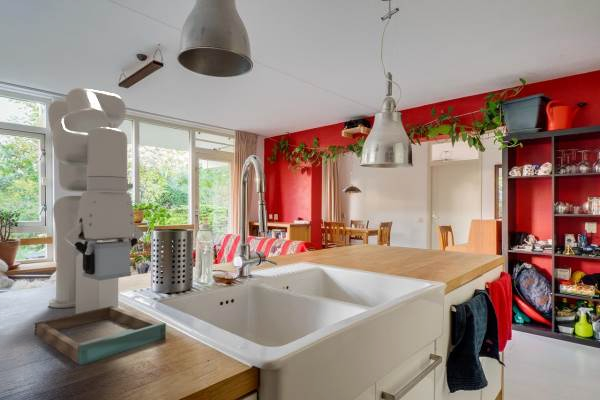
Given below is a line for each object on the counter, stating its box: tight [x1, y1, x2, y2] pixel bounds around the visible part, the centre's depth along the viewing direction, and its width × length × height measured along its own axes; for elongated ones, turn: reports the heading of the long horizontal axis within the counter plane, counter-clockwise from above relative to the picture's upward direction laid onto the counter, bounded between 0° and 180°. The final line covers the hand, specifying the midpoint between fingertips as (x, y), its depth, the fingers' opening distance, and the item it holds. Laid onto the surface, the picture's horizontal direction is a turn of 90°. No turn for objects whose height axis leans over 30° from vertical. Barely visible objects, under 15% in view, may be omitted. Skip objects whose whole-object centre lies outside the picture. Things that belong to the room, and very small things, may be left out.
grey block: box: [83, 240, 132, 281], centre depth 73 cm, size 8×6×7 cm
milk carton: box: [75, 240, 119, 314], centre depth 93 cm, size 7×7×19 cm
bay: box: [34, 306, 167, 366], centre depth 75 cm, size 25×16×3 cm, turn 53°
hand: (106, 270), depth 73 cm, fingers closed on grey block, 6 cm apart
